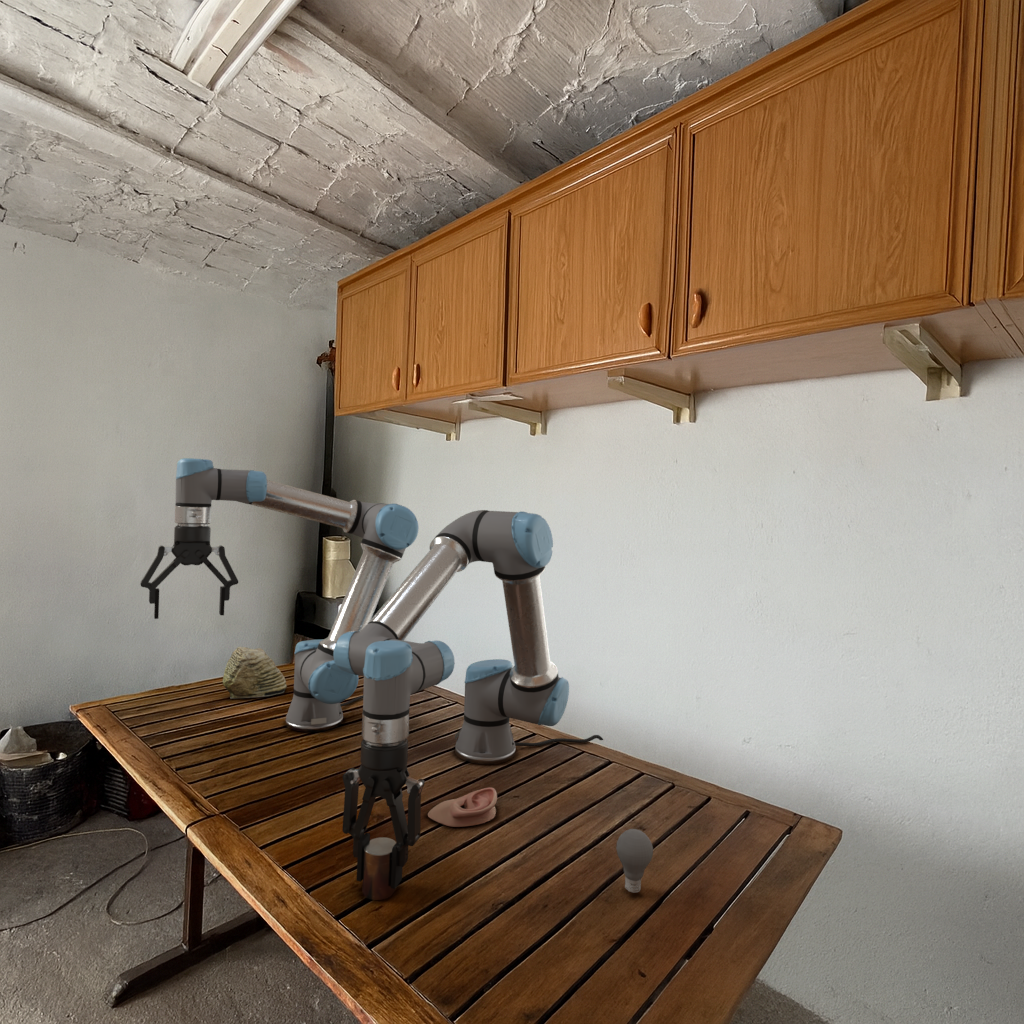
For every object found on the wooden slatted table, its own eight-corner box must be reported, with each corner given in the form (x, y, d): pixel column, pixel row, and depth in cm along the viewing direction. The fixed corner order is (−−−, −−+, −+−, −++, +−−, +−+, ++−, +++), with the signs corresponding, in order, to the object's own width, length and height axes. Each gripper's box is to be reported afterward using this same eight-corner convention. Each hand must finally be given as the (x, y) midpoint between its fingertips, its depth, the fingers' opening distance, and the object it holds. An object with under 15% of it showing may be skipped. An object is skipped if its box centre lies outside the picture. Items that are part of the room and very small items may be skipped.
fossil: (218, 695, 195) (220, 647, 195) (278, 685, 208) (279, 640, 207) (228, 703, 189) (230, 653, 188) (289, 692, 201) (290, 645, 201)
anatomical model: (423, 802, 125) (441, 778, 136) (422, 822, 125) (440, 796, 136) (488, 812, 122) (501, 786, 133) (487, 832, 122) (500, 805, 133)
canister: (365, 879, 106) (367, 836, 106) (397, 880, 106) (399, 837, 106) (359, 899, 100) (361, 854, 100) (392, 900, 101) (394, 855, 100)
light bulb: (610, 879, 108) (613, 822, 108) (644, 879, 109) (647, 822, 109) (619, 902, 102) (622, 840, 102) (655, 901, 103) (658, 840, 103)
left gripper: (130, 525, 137) (127, 622, 138) (252, 526, 150) (249, 615, 151) (130, 523, 144) (127, 616, 144) (247, 525, 157) (244, 610, 157)
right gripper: (322, 739, 101) (316, 882, 102) (429, 755, 97) (422, 905, 97) (345, 723, 109) (340, 857, 109) (446, 738, 104) (440, 877, 104)
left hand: (189, 616), depth 148 cm, fingers open, 13 cm apart
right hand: (379, 879), depth 103 cm, fingers closed on canister, 5 cm apart
